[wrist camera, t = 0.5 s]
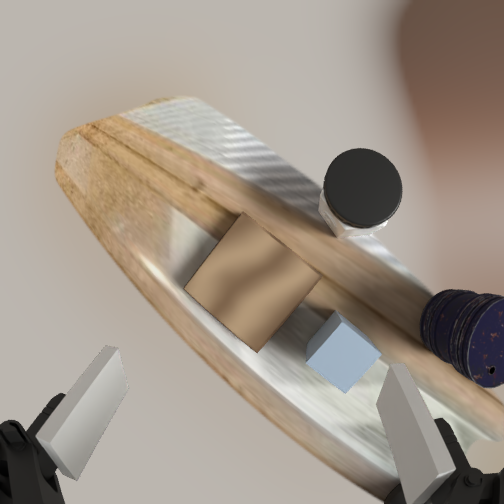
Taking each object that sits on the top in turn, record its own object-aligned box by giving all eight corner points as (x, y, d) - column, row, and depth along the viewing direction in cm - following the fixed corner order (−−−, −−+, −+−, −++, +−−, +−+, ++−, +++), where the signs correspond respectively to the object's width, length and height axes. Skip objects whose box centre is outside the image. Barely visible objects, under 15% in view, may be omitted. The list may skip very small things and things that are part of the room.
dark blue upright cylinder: (432, 279, 37) (487, 284, 22) (481, 298, 35) (541, 309, 20) (408, 346, 37) (451, 381, 22) (459, 361, 35) (510, 394, 20)
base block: (322, 274, 40) (323, 275, 36) (261, 346, 41) (256, 354, 37) (248, 215, 42) (241, 210, 38) (192, 287, 43) (181, 288, 39)
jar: (307, 199, 41) (305, 172, 29) (352, 167, 40) (366, 130, 28) (345, 252, 39) (359, 246, 27) (391, 218, 38) (420, 199, 26)
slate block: (367, 336, 38) (381, 354, 29) (338, 368, 39) (345, 393, 30) (335, 310, 39) (342, 321, 30) (307, 343, 40) (305, 363, 31)
